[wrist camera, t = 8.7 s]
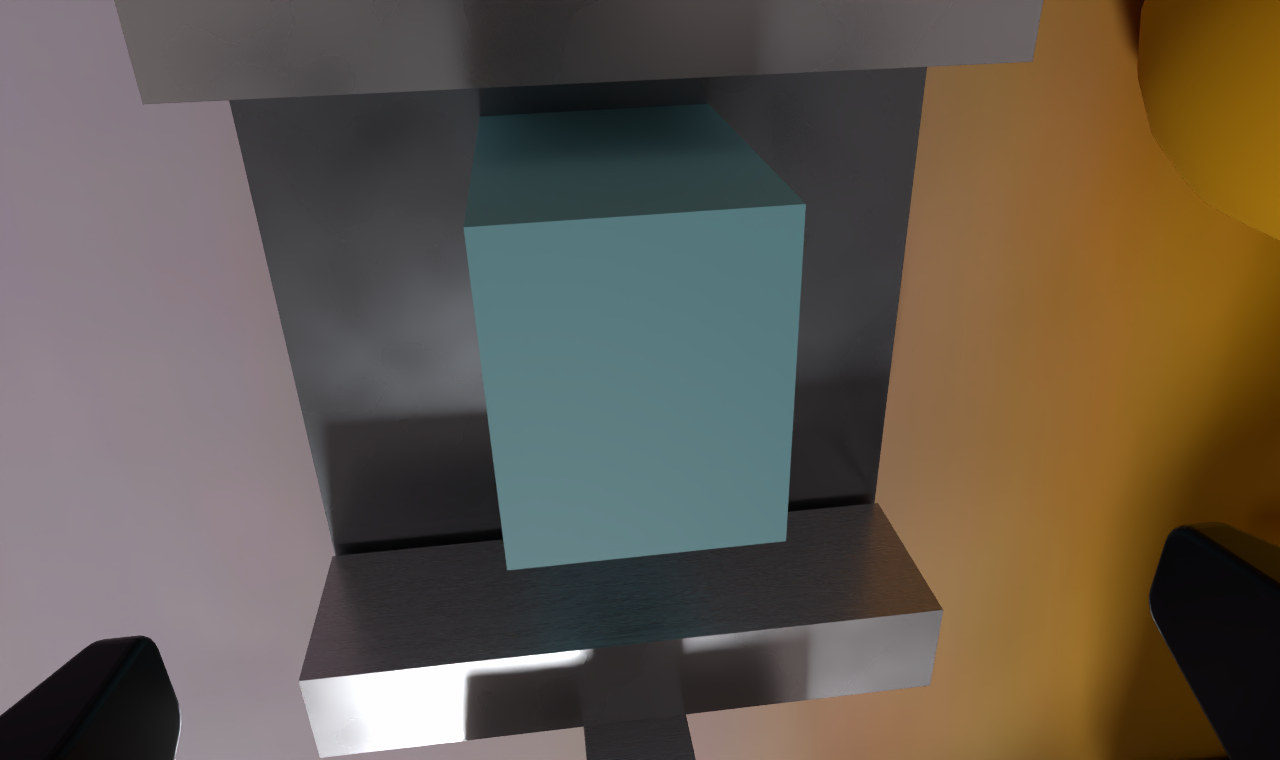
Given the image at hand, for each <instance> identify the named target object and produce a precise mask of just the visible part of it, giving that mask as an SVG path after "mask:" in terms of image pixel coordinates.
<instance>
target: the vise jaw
mask: <svg viewBox="0 0 1280 760" xmlns="http://www.w3.org/2000/svg"><path fill="white" fill-rule="evenodd" d="M942 614H943V609H942V607H941V606H940V604H939V602H938V601H937V599H936V597H935V596H934V594H933V593H932V591H931V589H930V588H929V586H928V584H927V583H926V581H925V579H924V578H923V576H922V574H921V573H920V571H919V570H918V568H917V566H916V565H915V563H914V561H913V560H912V558H911V556H910V555H909V553H908V551H907V550H906V548H905V547H904V545H903V543H902V542H901V540H900V538H899V537H898V535H897V533H896V532H895V530H894V528H893V527H892V525H891V524H890V522H889V520H888V519H887V517H886V515H885V514H884V512H883V510H882V509H881V507H880V505H879V504H878V503H874V504H863V505H853V506H843V507H832V508H822V509H812V510H802V511H791V512H788V516H787V533H786V541H782V542H773V543H763V544H754V545H744V546H735V547H725V548H716V549H706V550H697V551H687V552H678V553H668V554H659V555H649V556H640V557H630V558H621V559H611V560H602V561H592V562H583V563H573V564H564V565H554V566H545V567H535V568H525V569H516V570H507V565H506V557H505V549H504V541H503V540H494V541H483V542H473V543H463V544H453V545H442V546H432V547H422V548H412V549H401V550H391V551H381V552H371V553H360V554H350V555H340V556H333V557H332V560H331V564H330V568H329V571H328V575H327V579H326V582H325V586H324V590H323V593H322V597H321V601H320V604H319V608H318V612H317V615H316V619H315V623H314V626H313V630H312V634H311V638H310V641H309V645H308V649H307V652H306V656H305V660H304V663H303V667H302V671H301V674H300V678H299V684H300V688H301V691H302V695H303V699H304V702H305V706H306V709H307V713H308V716H309V720H310V723H311V727H312V731H313V734H314V738H315V741H316V745H317V748H318V752H319V755H320V758H322V757H331V756H339V755H348V754H356V753H364V752H373V751H381V750H390V749H398V748H406V747H415V746H423V745H432V744H440V743H449V742H457V741H465V740H474V739H482V738H491V737H499V736H507V735H516V734H524V733H533V732H541V731H549V730H558V729H566V728H575V727H583V726H584V736H585V747H586V759H587V760H695V755H694V750H693V746H692V741H691V736H690V732H689V727H688V722H687V718H686V714H692V713H701V712H709V711H718V710H726V709H735V708H743V707H751V706H760V705H768V704H777V703H785V702H793V701H802V700H810V699H819V698H827V697H835V696H844V695H852V694H861V693H869V692H878V691H886V690H894V689H903V688H911V687H920V686H928V685H930V682H931V676H932V670H933V665H934V659H935V653H936V648H937V642H938V636H939V631H940V625H941V619H942Z"/></svg>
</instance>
